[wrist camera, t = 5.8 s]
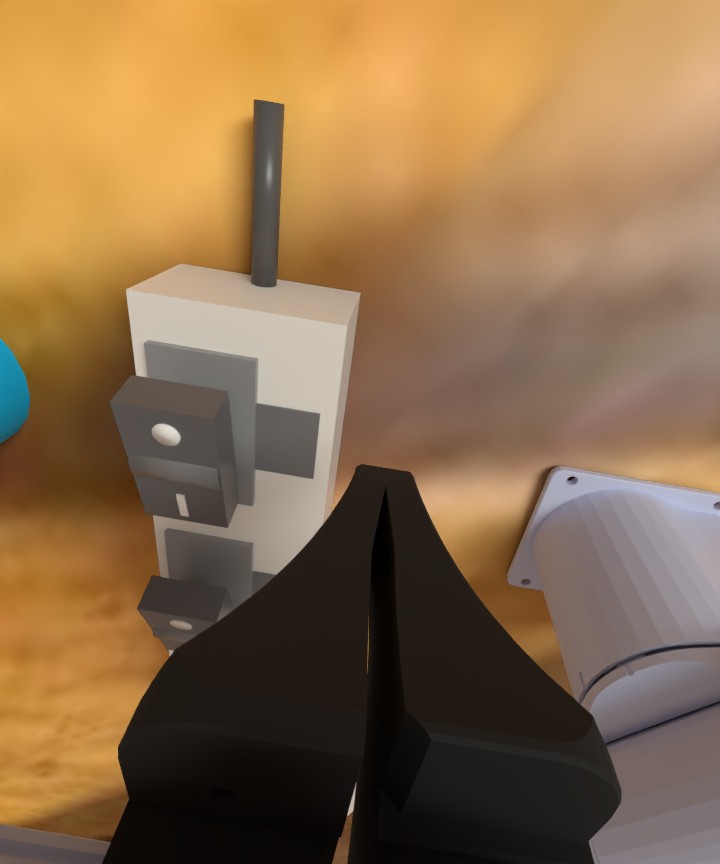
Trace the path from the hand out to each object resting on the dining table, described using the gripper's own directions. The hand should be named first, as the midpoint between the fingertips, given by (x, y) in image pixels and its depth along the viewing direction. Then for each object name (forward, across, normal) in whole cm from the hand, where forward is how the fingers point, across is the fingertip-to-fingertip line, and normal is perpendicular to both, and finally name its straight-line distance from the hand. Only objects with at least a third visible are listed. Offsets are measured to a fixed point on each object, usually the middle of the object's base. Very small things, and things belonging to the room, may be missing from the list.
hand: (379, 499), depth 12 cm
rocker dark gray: (+4, +7, +12) cm, 14 cm away
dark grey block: (+4, +7, +3) cm, 8 cm away
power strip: (+10, +6, +9) cm, 15 cm away
